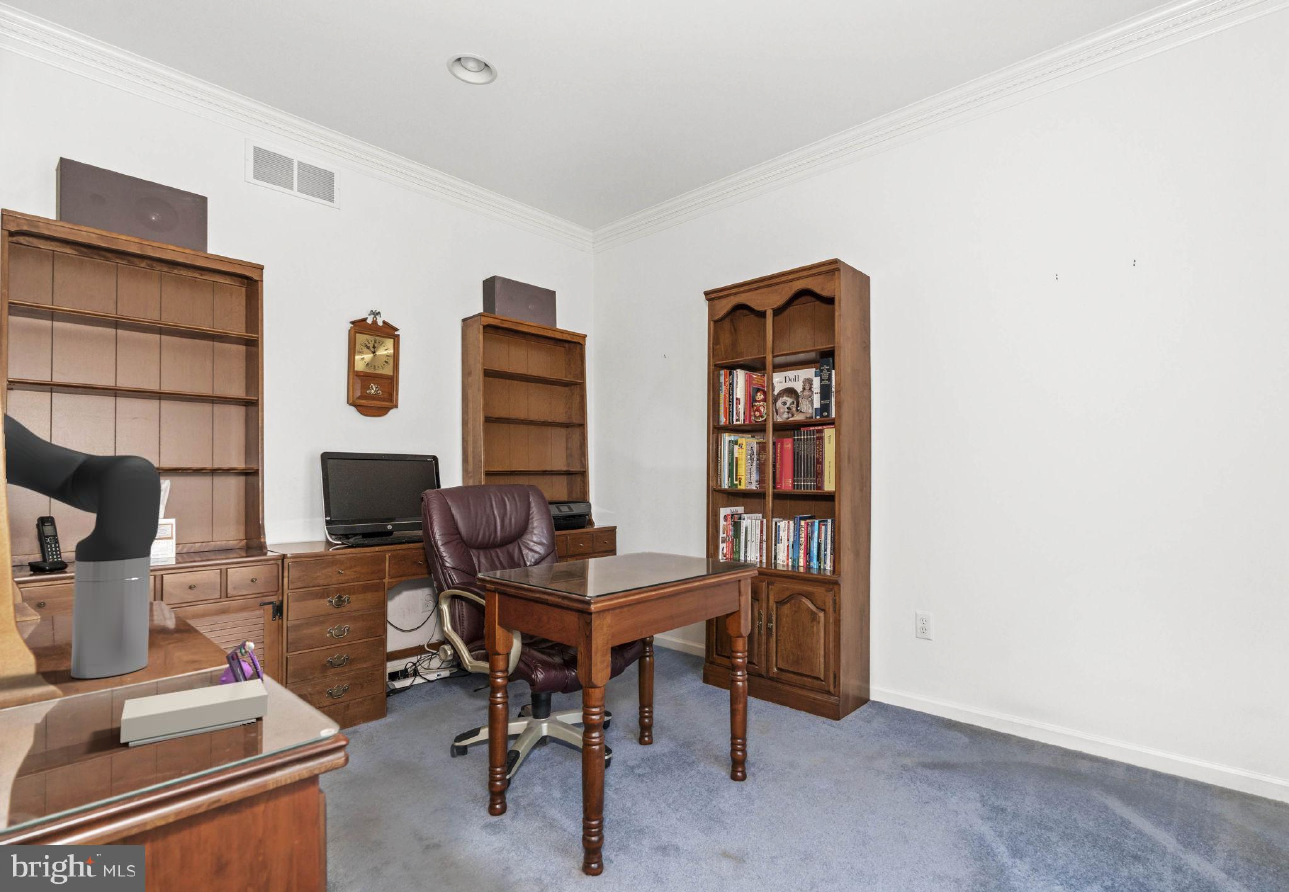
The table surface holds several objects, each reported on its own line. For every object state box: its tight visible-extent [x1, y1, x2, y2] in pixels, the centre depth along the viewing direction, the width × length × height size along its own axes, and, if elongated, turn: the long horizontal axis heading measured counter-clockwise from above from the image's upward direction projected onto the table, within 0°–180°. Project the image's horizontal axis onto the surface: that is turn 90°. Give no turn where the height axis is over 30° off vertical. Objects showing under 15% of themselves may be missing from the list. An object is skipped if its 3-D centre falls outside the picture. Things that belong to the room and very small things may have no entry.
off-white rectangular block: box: [120, 678, 268, 744], centre depth 79 cm, size 8×3×14 cm
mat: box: [128, 718, 257, 748], centre depth 79 cm, size 9×12×1 cm
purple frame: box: [218, 639, 264, 685], centre depth 90 cm, size 7×5×9 cm
